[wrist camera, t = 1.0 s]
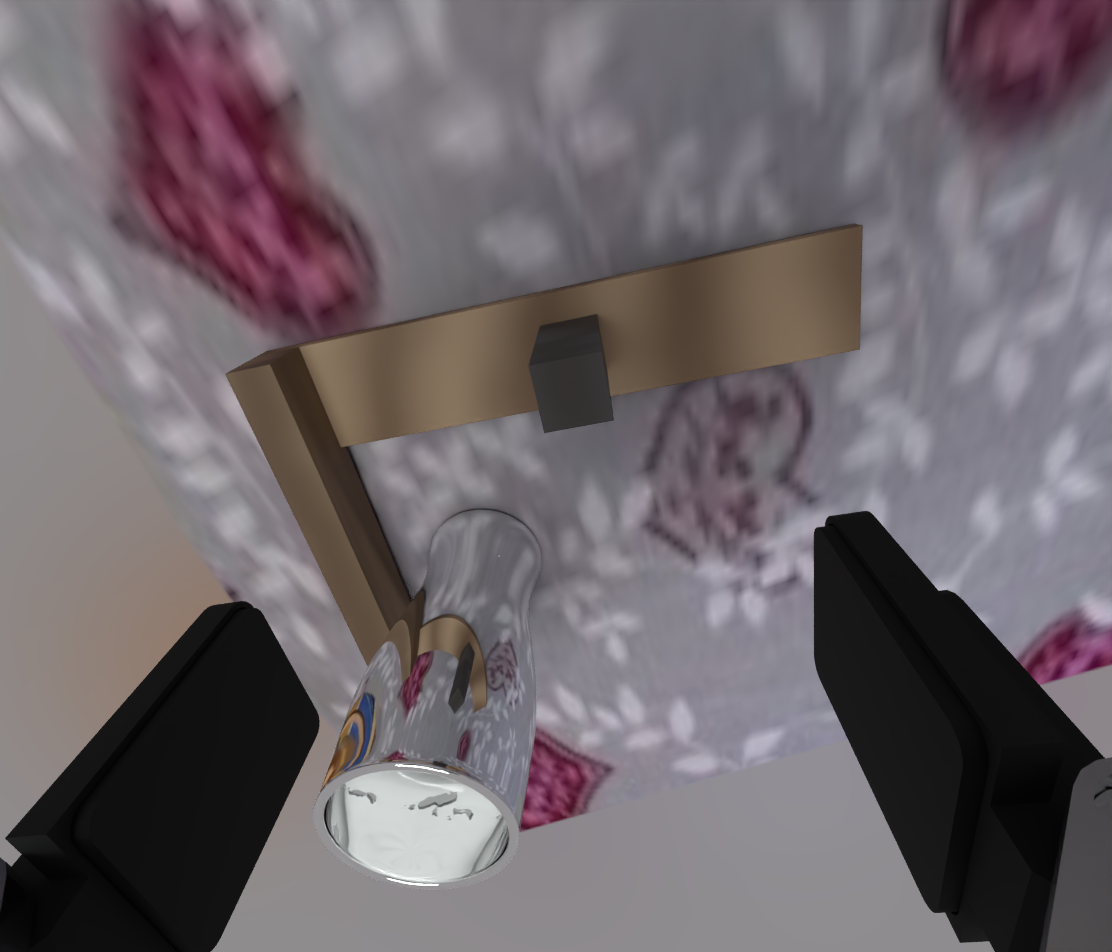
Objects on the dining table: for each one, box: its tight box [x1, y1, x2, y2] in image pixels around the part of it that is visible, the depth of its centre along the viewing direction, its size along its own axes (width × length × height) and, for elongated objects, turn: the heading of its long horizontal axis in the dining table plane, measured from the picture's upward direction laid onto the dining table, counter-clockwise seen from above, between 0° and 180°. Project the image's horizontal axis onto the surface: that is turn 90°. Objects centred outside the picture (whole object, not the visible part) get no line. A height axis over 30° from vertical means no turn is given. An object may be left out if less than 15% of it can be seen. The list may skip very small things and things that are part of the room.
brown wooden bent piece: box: [225, 224, 863, 666], centre depth 26 cm, size 26×18×7 cm
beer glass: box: [313, 509, 542, 890], centre depth 25 cm, size 7×7×15 cm
